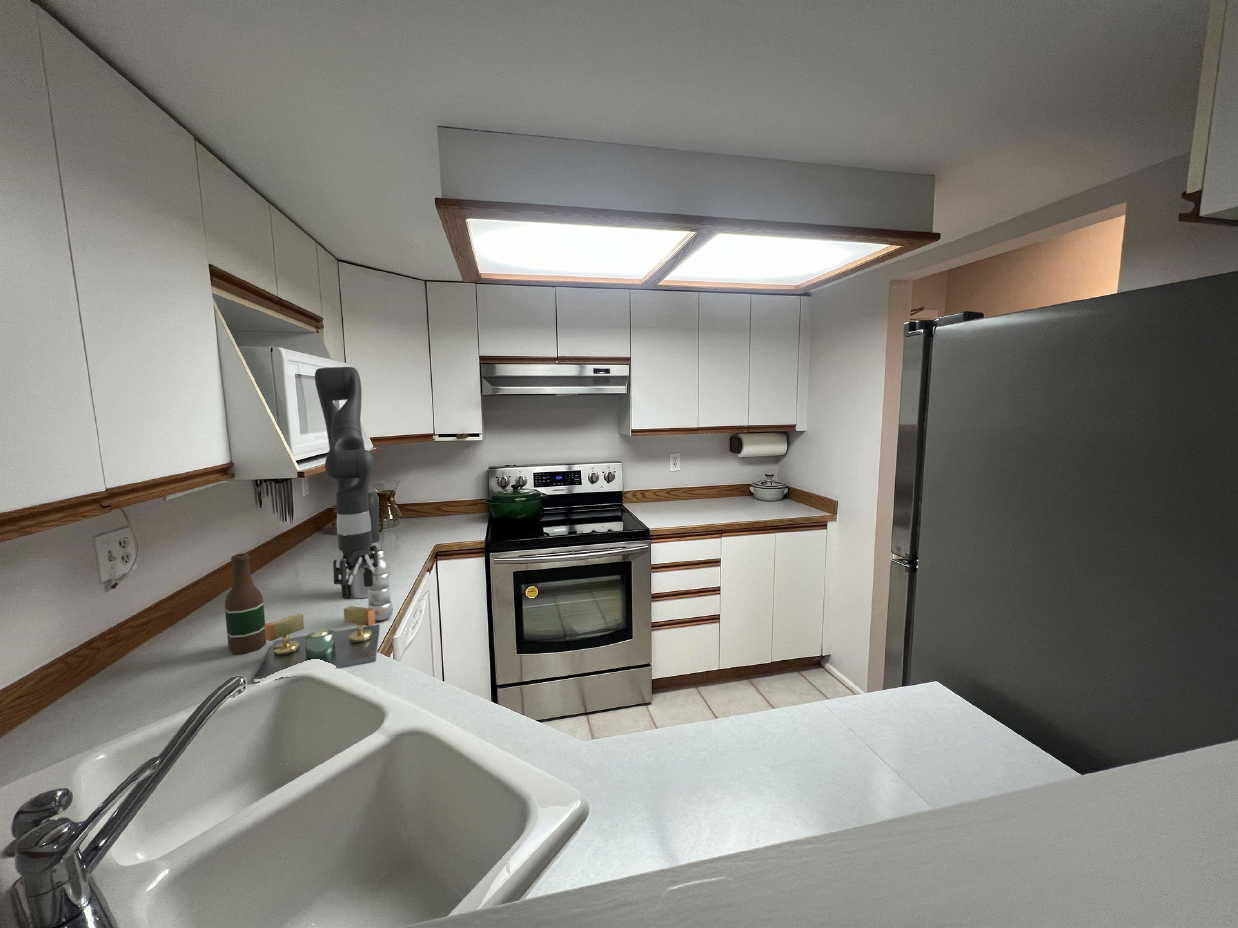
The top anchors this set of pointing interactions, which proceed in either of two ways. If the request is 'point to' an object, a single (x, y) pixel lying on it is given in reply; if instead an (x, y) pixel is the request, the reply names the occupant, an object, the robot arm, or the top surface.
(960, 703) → the top surface
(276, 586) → the top surface
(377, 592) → the plastic bottle
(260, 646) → the beer bottle
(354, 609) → the knob
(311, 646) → the base plate
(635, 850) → the top surface
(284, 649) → the knob
